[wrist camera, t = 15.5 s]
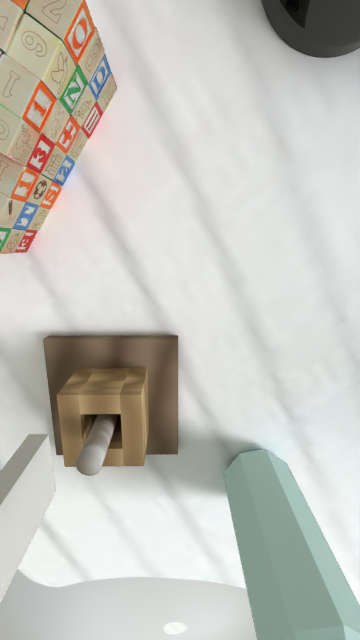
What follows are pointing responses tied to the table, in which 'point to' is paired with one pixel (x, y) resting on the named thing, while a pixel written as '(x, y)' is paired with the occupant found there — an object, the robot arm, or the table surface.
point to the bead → (106, 398)
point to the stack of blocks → (45, 107)
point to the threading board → (118, 353)
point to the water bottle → (286, 556)
